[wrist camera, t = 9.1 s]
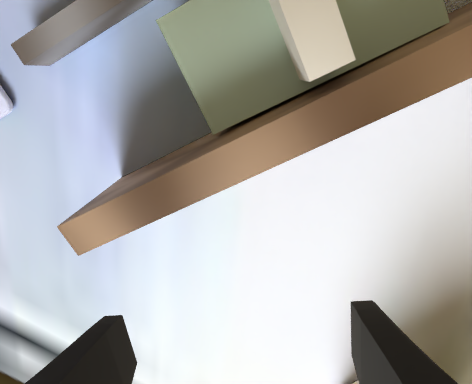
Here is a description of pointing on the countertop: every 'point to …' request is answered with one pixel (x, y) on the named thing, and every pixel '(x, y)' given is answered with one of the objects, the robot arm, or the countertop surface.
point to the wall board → (253, 128)
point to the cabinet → (282, 46)
